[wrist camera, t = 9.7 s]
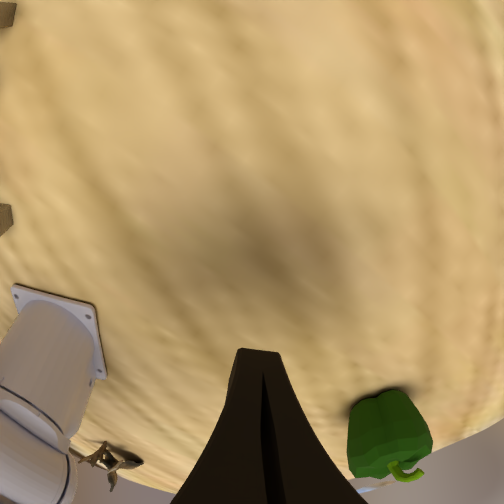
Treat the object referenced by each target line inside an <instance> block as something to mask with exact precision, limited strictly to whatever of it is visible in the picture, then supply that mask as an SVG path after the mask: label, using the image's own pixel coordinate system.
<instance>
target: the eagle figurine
mask: <svg viewBox="0 0 504 504" xmlns="http://www.w3.org/2000/svg"><path fill="white" fill-rule="evenodd" d="M106 447H107V443H106V441H104V443H103V445H102V446H101V447H100V448H99V450H97V451H96V452H95V453H94V454H92V455H89V456H87V457H84V458H82V459H81V460H80V461H79V462H78V463H81V462H84V461H87V460H89V459H91V460H90V464H91V466H92V467H94V465H95V464H96V462H97V460H100V463H103V464H104V465H106V467H107V468H108V469H109V471H108V473H107V476H108V481H109V483H110V484H111V489H110V492H112V491H113V488H114V486H115V484H116V482H117V473H116V470H118V469H119V468H122V469H134V468H136V467H138V466H140V465H142V464H144V463H135V462H134V461H130V460H128V461H125V462H123V460H121V461H118V460H116V459H115V458H114V457H113V455H112V454H111V453H110V452H109V451H108V450H107V449H106ZM103 454H104V455H105V459H103Z"/></svg>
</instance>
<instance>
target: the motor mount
mask: <svg viewBox="0 0 504 504" xmlns="http://www.w3.org/2000/svg"><path fill="white" fill-rule="evenodd" d="M15 8H16V3H5V2H0V28H5V27H9V26H12V24H13V18H14V13H15ZM12 225H13V221H12V214H11V207H10V205H6V204H0V236H1V235H2V234H3V233H5V232H6V231H7V230H8V229H9V228H10V227H11V226H12Z"/></svg>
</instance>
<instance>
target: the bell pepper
mask: <svg viewBox="0 0 504 504" xmlns="http://www.w3.org/2000/svg"><path fill="white" fill-rule="evenodd" d="M432 445H433V440H432V437H431V434H430V431H429V428H428V425H427V423H426V422H425V420H424V419H423V417H422V415H421V414H420V412H419V411H418V409H417V408H416V407H415V405H414V404H413V402H412V401H411V400H410V398H409V397H408V396H407V395H406V394H405V393H403V392H401V391H398V390H390V391H387V392H384V393H381V394H380V395H379V396H378V397H377V398H368V399H365V400H361V401H360V402H359V403H358V404H356V405H355V406H354V407H353V409H352V411H351V413H350V418H349V425H348V440H347V458H348V465H349V470H350V471H351V472H352V474H353V475H354V477H355V478H361V477H369V476H370V477H374V478H377V479H382V478H384V477H386V476H387V475H389V474H390V473H392V474H393V476H394V477H395V479H396V480H397V481H402V482H410V481H414V480H417V479H419V478H420V477H421V476H422V475H424V472H423V471H422V470H421V469H419V468H417V469H416V470H415V471H414V472H413V473H410V474H407V473H404V472H403V471H402V470H409V469H411V468H412V467H413V466H414V465H415V464H416V463H417V462H418V461H419V460H420V459H422V458H424V457H425V456H427V455H428V454H430V453H431V451H432Z"/></svg>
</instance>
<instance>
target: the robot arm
mask: <svg viewBox="0 0 504 504" xmlns="http://www.w3.org/2000/svg"><path fill="white" fill-rule="evenodd" d="M11 293H12V296H13V299H14V302H15V305H16V308H17V311H18V314H19V315H18V316H17V318H16V319H15V321H14V322H13V324H12V326H11V327H10V329H9V330H8V332H7V334H6V335H5V337H4V338H3V340H2V342H1V343H0V504H71V502H72V500H73V498H74V496H75V492H76V488H77V480H78V479H77V478H78V477H77V468H76V464H75V460H74V458H73V456H72V454H71V453H70V452H69V451H68V449H69V446H70V442H71V441H70V440H69V439H70V438H71V437H72V436H74V435H75V433H76V432H77V431H78V429H79V427H80V425H81V422H82V419H83V415H84V412H85V409H86V406H87V403H88V400H89V397H90V394H91V392H92V389H93V386H94V383H95V380H96V378H98V379H101V380H105V379H106V378H107V372H106V368H105V363H104V358H103V353H102V348H101V343H100V338H99V332H98V326H97V320H96V314H95V309H94V307H93V306H91V305H89V304H86V303H82V302H78V301H74V300H70V299H66V298H62V297H58V296H54V295H51V294H47V293H43V292H40V291H36V290H33V289H29V288H26V287H22V286H19V285H15V284H14V285H12V287H11ZM170 504H368V503H367V502H366V501H365V500H364V499H363V498H362V497H361V496H360V495H359V494H358V492H357V491H356V490H355V489H354V488H353V487H352V485H351V484H350V483H349V482H348V481H347V479H346V478H345V477H344V476H343V475H342V473H341V472H340V471H339V469H338V468H337V467H336V465H335V464H334V463H333V461H332V460H331V458H330V457H329V455H328V454H327V452H326V451H325V449H324V448H323V446H322V445H321V443H320V441H319V440H318V438H317V436H316V435H315V433H314V431H313V429H312V427H311V426H310V424H309V422H308V420H307V418H306V416H305V414H304V412H303V410H302V408H301V406H300V404H299V401H298V399H297V397H296V395H295V393H294V390H293V388H292V385H291V383H290V381H289V378H288V375H287V373H286V370H285V367H284V365H283V362H282V359H281V356H280V354H279V353H278V352H271V351H263V350H255V349H247V348H240V349H238V350H237V353H236V357H235V360H234V364H233V367H232V371H231V374H230V378H229V383H228V390H227V396H226V401H225V405H224V408H223V410H222V413H221V415H220V417H219V420H218V422H217V424H216V427H215V429H214V431H213V433H212V435H211V437H210V439H209V441H208V443H207V445H206V447H205V449H204V450H203V452H202V454H201V456H200V458H199V459H198V461H197V463H196V464H195V466H194V468H193V470H192V471H191V473H190V475H189V476H188V478H187V479H186V481H185V482H184V484H183V485H182V487H181V488H180V490H179V491H178V493H177V494H176V496H175V497H174V498H173V500H172V501H171V503H170Z"/></svg>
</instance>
